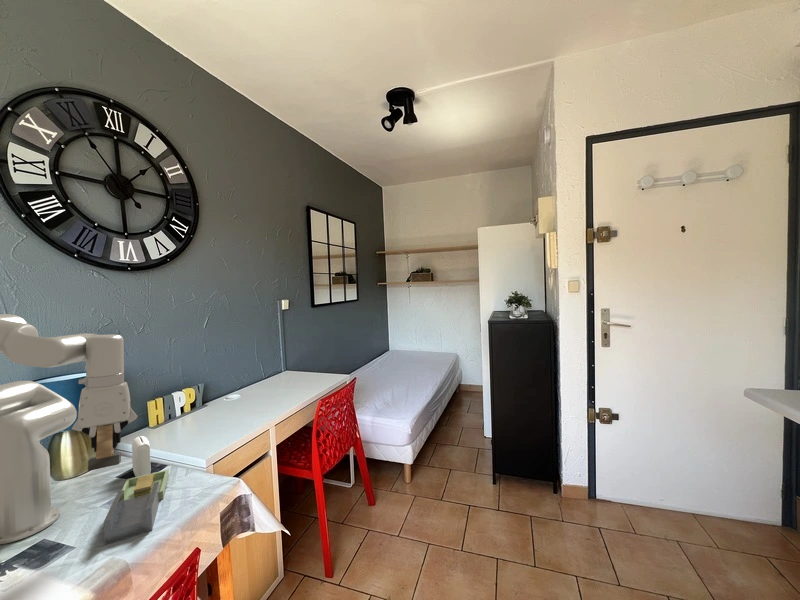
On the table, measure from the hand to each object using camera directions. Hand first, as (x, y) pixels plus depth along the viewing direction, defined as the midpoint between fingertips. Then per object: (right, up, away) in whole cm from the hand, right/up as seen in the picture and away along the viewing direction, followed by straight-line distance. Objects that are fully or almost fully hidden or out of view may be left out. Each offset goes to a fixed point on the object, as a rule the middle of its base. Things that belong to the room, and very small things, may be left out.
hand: (106, 447), depth 86 cm
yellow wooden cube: (+2, -20, +10) cm, 23 cm away
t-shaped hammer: (+1, -4, -2) cm, 5 cm away
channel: (+7, -21, +1) cm, 22 cm away
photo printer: (-11, -21, +25) cm, 34 cm away
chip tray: (-1, -21, +14) cm, 25 cm away
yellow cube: (+1, -18, +12) cm, 22 cm away
